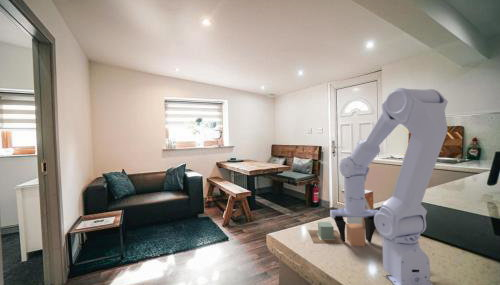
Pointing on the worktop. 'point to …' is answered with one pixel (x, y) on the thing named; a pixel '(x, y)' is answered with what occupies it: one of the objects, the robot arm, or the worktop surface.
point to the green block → (325, 230)
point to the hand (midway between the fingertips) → (355, 240)
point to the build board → (318, 240)
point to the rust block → (355, 234)
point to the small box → (367, 206)
